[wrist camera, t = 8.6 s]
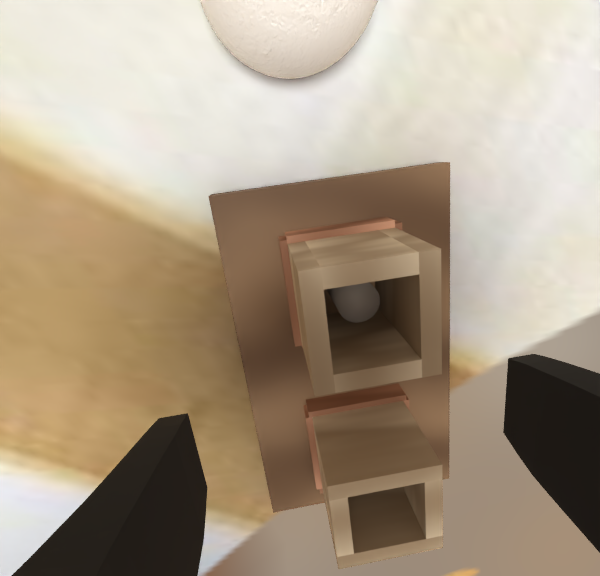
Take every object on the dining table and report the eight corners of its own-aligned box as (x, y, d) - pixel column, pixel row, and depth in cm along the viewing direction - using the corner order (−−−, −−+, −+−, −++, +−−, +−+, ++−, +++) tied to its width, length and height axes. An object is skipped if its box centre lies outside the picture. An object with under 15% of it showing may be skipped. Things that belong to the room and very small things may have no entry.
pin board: (440, 464, 22) (479, 527, 18) (272, 496, 21) (275, 568, 18) (438, 162, 16) (493, 162, 13) (211, 194, 16) (197, 204, 12)
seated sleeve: (404, 461, 20) (449, 551, 16) (314, 478, 20) (332, 575, 15) (401, 382, 19) (450, 456, 14) (302, 400, 18) (318, 481, 14)
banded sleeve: (393, 215, 16) (450, 237, 11) (398, 322, 18) (450, 380, 13) (277, 233, 16) (286, 263, 11) (293, 339, 17) (307, 405, 13)
